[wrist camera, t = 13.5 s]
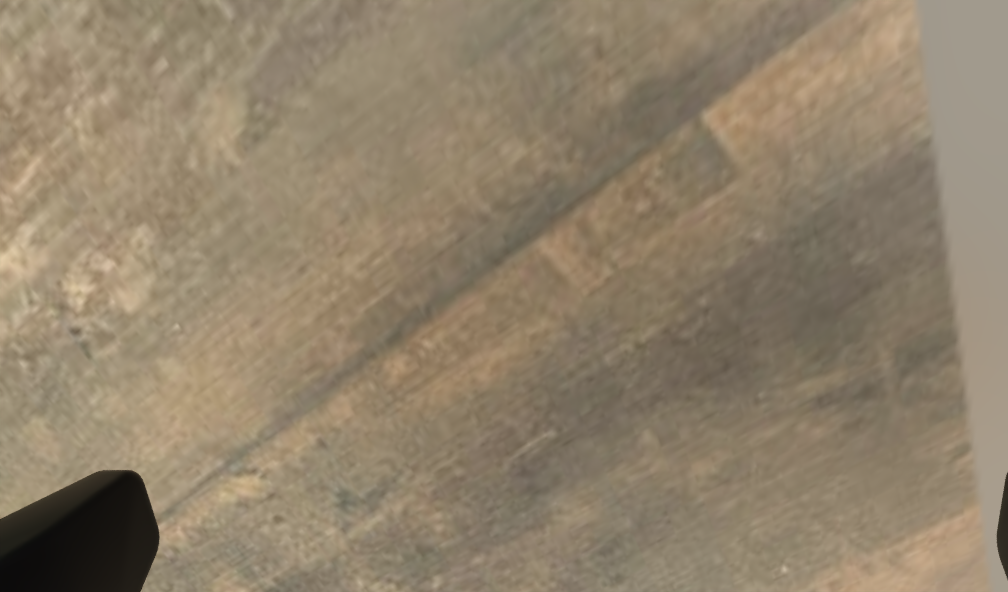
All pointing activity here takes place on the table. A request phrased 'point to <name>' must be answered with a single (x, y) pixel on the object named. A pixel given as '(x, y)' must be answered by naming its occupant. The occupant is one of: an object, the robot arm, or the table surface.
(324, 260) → the table surface
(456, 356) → the table surface
